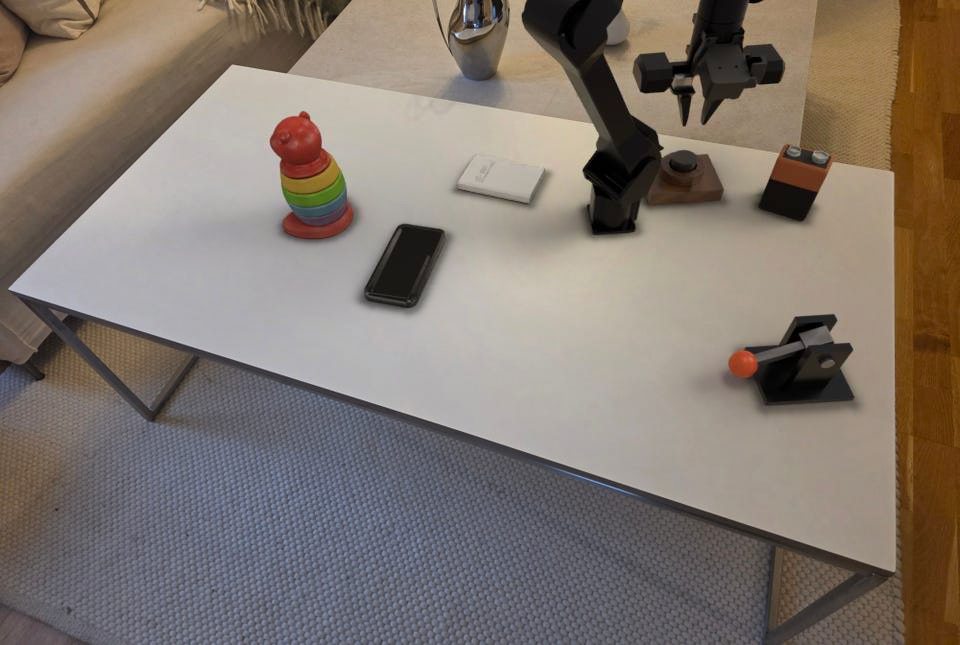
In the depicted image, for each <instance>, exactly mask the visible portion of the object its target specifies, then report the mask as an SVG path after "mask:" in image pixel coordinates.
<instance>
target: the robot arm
mask: <svg viewBox="0 0 960 645" xmlns="http://www.w3.org/2000/svg"><path fill="white" fill-rule="evenodd" d="M764 1H765V0H699V2H698V5H697V6H698V7H697V11H696V12H693V14H692V19H691V22H692V24H693V28H692V33H691V38H690V42H689V44H686V47H685V54H686V60H682V61H679V60H678V61H669V58H668V56H667V54H666V52H665V51H660V52H648V53H647V52H646V53H640V54H638V56H636V58H635V59H634V60H633V66H632V70H631V71H632V75H633V78H634V80H635V83H636V86H637V88H638V91H639V93H642V94H644V95H645V94H646V95H647V94H661V93H665V92H666V91H667V90H670V93H671V94H672V95H673V96H675V97H676V100H677V105H678V111H679V112H678V113H679V117H680V118H679V119H680V123H681V126H682V127H683V128H684V127H686V126H687V124H688V121H689V116H690V111H691V106H692V98H693V96H695V94H696V90H695V87H694V85H693V83H694V79H695V77H699V81H700V86H701V93H702V97H703V98H704V101H703V103H702V108H701V113H700V114H701V115H700V125H701V126H706V125H707V123H708V122H709V120H710V119H711V118H712V116H713V115H714V113H715V112H716V111H717V110H718V108H719V107H720V105H721V104H723V102H724V101H725V100H729V99H730V100H737V99H739V98H740V97H741V95H742V94H743V92H744V90H746V89H755V88H756V87H757V85H758V86H763V85H765V86H766V85H776V84H777V85H778V84H780V83H781V82H782V79H783V77H784V74H785V71H786V62H785V61H784V59H783V58H782V56H781V55H780V53H779V52H778V50H776V48H775V46H774V45H773V44H772V43H762V44H761V43H760V44H751V45H750V44H749V45H748V44H747V45H745V46H744V40H745V33H746V30H745V29H744V26H743V25H744V21H745V17H746V15H747V10H748V7H749V4H753V5H754V4H759V3H762V2H764ZM623 3H624V0H526V1H525V3H524V7H523V11H522V12H521V22H522V25H523V28H524V30H525V31H526V32H527V33H528V34H529V35H530V36H531V38H532V39H533V40H534V41H535V42H536V43H537V45H539V46H540V47H541V48H542V49H543V50H544V51H545V52H546V53H547V54H548V55H549V56H550V57H551V58H552V59H554V60H555V61H556V62H557V63H558V64H559V65H560V66H561V67H562V69H563V71H564V72H565V75H566V76H567V78H568V80H569V81H570V83H571V85H572V88H573V89H574V91H575V93H576V96H577V97H578V99H579V101H580V102H581V104H582V106H583V108H584V110H585V112H586V114H587V115H588V117H589V119H590V121H591V123H592V124H593V126H594V128H595V130H596V132H597V134H598V137H597V140H596V142H595V148H596V150H595V151H594V153H593V154H592V155H591V157H590V158H589V159H588V161H587V162H586V163H585V165H584V166H583V167H582V169H581V170H582V175H583V178H584V179H585V180H586V181H588V182H590V183H591V190H590V198H589V203H588V204H587V205H586V212H587V217H588V220H589V221H588V222H589V225H590V226H589V227H590V230H591V233H592V234H593V235H608V234H622V233H623V234H624V233H635V232H636V229H637V226H636V223H635V221H637V220H638V217H639V211H640V207H641V201H642V199H644V198H645V197H646V198H647V194H648V192H649V190H650V188H651V186H652V184H653V182H654V179H655V177H656V175H657V173H658V171H659V168H660V163H661V160H662V157H663V155H662V152H661V151H663V150H664V149H665V147H664V146H663V145H661V144H660V141H659V139H660V138H659V135H658V133H657V130H655V128H653V127H652V126H650V125H648V124H646V123H645V122H643V121H642V120H640V119H639V118H637V117H636V116H634V115H633V114H631V113H630V110H629V108H628V106H627V104H626V101H625V99H624V97H623V95H622V92H621V90H620V87H619V85H618V83H617V81H616V79H615V76H614V74H613V71H612V70H611V67H610V65H609V62H608V60H607V58H606V55H605V49H606V47H607V46H606V45H607V43H608V39H609V33H608V28H609V26H610V25H611V24H612V23H613V21H614V20H615V18H616V17H617V16H618V15H619V14H620V12H621V10H622V7H623Z"/></svg>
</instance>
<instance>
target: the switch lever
mask: <svg viewBox="0 0 960 645" xmlns="http://www.w3.org/2000/svg"><path fill="white" fill-rule="evenodd" d="M799 336H800V340H801V341H798V342H794V343H791V344H788V345H784V346H781V347H777V348H774V349H771V350H767V351H764V352H761V353H757V354H754V355H753V354H752V353H751V352H748V351H744V349H743V350H737V351H734V352H733V353H732V354H730V356H729V358H728V360H727V368H728V370H729V371H730V373H731V374H732V375H733V376H735V377H737V378H740V379H746V378H750V377H752V376H754V373H755V372H756V371H757V368H758V366H760V365H764V364H767V363H771V362H774V361H778V360H781V359H785V358H788V357H792V356H795V355H799V354H802V353H804V352H805V350H806V348H807V347H808V345H821V344H835V340H834V338H833V336H832V334H831V332H829V330H828V328H827V326H822V327H819V328H815V329H812V330H809V331H805V332H802V333H799Z"/></svg>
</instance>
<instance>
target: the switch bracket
mask: <svg viewBox="0 0 960 645" xmlns="http://www.w3.org/2000/svg"><path fill="white" fill-rule="evenodd" d="M838 321H839V320H838V318H837V316H836V314H835V313H827V314H813V315H797V316H794V317H793V319H792V321H791V322H790V324H789V325H788V328H787V330H786V331H785V333H784V334H783V336H782V338H781V340H780V342H779V343H778V344H774V345H773V344H772V345H759V346H745V347H744V349H743V350H744V351H748V352H751V353H752V354H753V355H754V354H757V353H761V352H764V351H767V350H771V349H774V348H777V347H781V346H784V345H788V344H791V343H794V342H798V341H801V340H800V336H799V333H802V332H805V331H809V330H812V329H815V328H819V327H822V326H827V328H828V330H829V332H830V333H831V332H832V330H833V329H834V327H835V325H836V324H837V323H838ZM853 351H854V348H853V346H852V344H851V342H838V343H837V342H836V343H834V344H821V345H808V347H807V348H806V350H805V352H804V353H802V354H799V355H795V356H792V357H788V358H785V359H781V360H778V361H774V362H771V363H767V364H764V365H760V366H758V368H757V371H756V372H755V373H754V374H753V377H754V379H755V382H756V385H757V387H758V390H759V392H760V395H761V397H762V400H763V403H764V405H765V406H766V407H767V406H782V405H798V404H799V405H800V404H814V403H830V402H846V401H847V402H848V401H854V399H855V398H856V396H855V395H854V392H853V391H852V389H851V386H850V384H849V383H848V381H847V379H846V377H845V375H844V372H843V371H842V369H841V367H842V366H844V363H845V362H846V361H847V359H848V358H849V357H850V356H851V355H852V353H853Z"/></svg>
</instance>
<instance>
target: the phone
mask: <svg viewBox="0 0 960 645" xmlns="http://www.w3.org/2000/svg"><path fill="white" fill-rule="evenodd" d="M446 239H447V238H446V231H445V230H444V229H442V228H437V227H430V226H424V225H418V224H410V223H400V224H399V225H397V226H396V228H395V230H394V232H393V233H392V236H391V238H390V239H389V241H388V243H387V245H386V247H385V248H384V251H383V252H382V254H381V256H380V258H379V260H378V262H377V264H376V266H375V268H374V270H373V271H372V273H371V275H370V277H369V279H368V280H367V283H366V284H365V286H364V289H363V292H364V293H363V294H364V296H365V298H366V300H368V301H371V302H376V303H381V304H386V305H387V304H388V305H392V306H397V307H403V308H412V307H415V306H416V305H417V303H418V302H419V300H420V297H421V296H422V293H423V291H424V289H425V286H426V284H427V282H428V280H429V278H430V275H431V273H432V271H433V269H434V266H435V264H436V262H437V259H439V255H440V254H441V251H442V249H443V246H444V244H445V242H446Z"/></svg>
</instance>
